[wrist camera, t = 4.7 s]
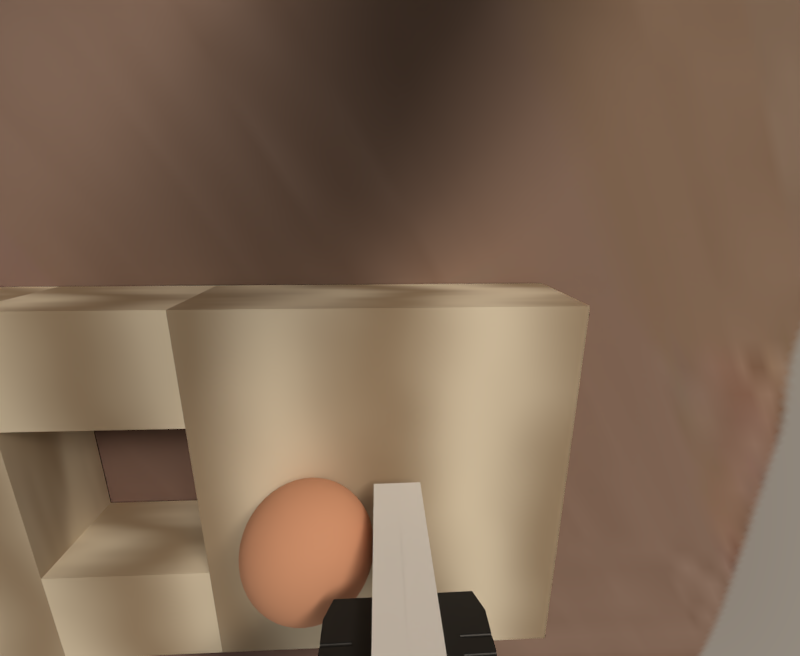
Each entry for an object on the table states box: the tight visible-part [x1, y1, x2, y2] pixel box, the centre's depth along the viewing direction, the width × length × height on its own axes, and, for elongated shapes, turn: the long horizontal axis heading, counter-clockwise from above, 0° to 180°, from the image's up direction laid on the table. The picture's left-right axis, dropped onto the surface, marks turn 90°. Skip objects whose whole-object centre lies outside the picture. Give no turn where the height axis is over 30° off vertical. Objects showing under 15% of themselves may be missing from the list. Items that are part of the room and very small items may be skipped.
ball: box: [239, 478, 373, 628], centre depth 13 cm, size 4×4×4 cm
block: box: [0, 283, 590, 656], centre depth 16 cm, size 22×14×4 cm, turn 90°
